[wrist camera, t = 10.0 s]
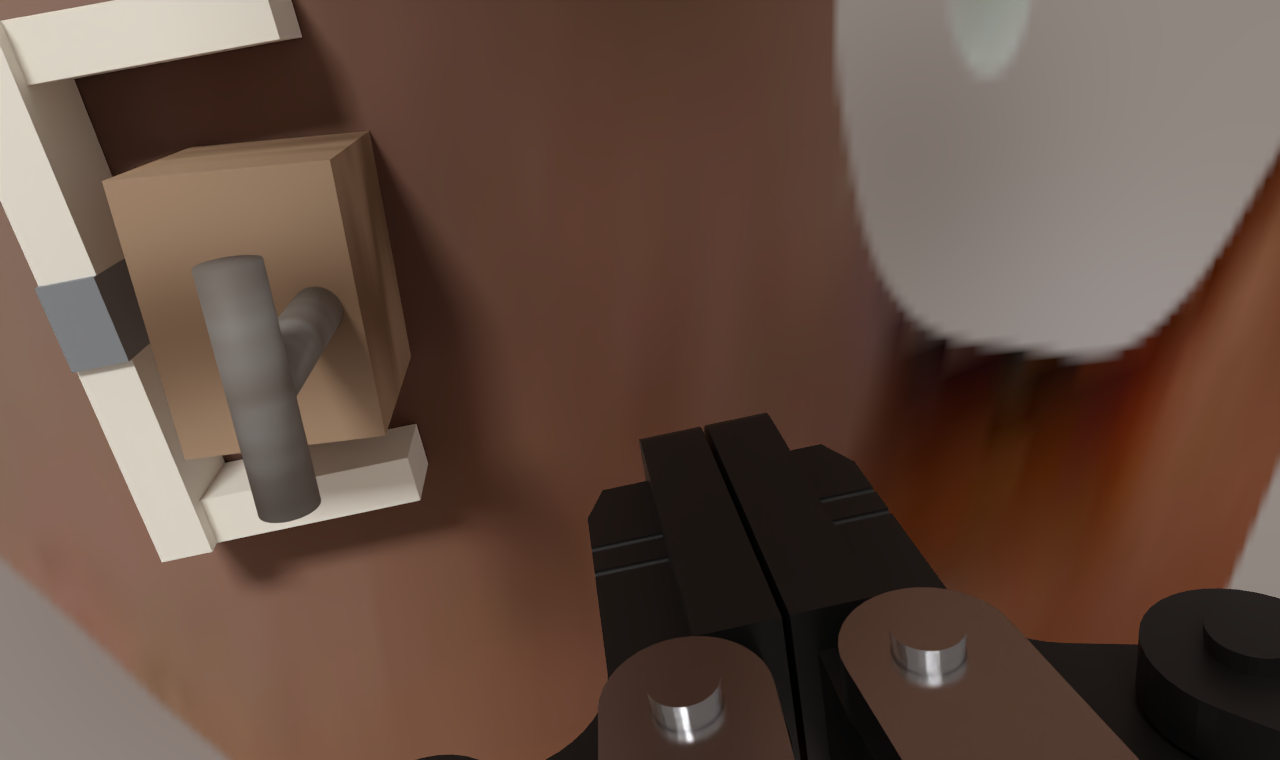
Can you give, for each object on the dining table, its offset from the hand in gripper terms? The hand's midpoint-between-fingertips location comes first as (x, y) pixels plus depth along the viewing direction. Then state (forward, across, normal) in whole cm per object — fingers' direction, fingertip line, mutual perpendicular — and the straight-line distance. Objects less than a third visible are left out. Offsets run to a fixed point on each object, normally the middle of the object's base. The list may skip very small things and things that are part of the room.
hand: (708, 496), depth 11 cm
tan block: (+18, +9, 0) cm, 20 cm away
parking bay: (+18, +11, 0) cm, 21 cm away
